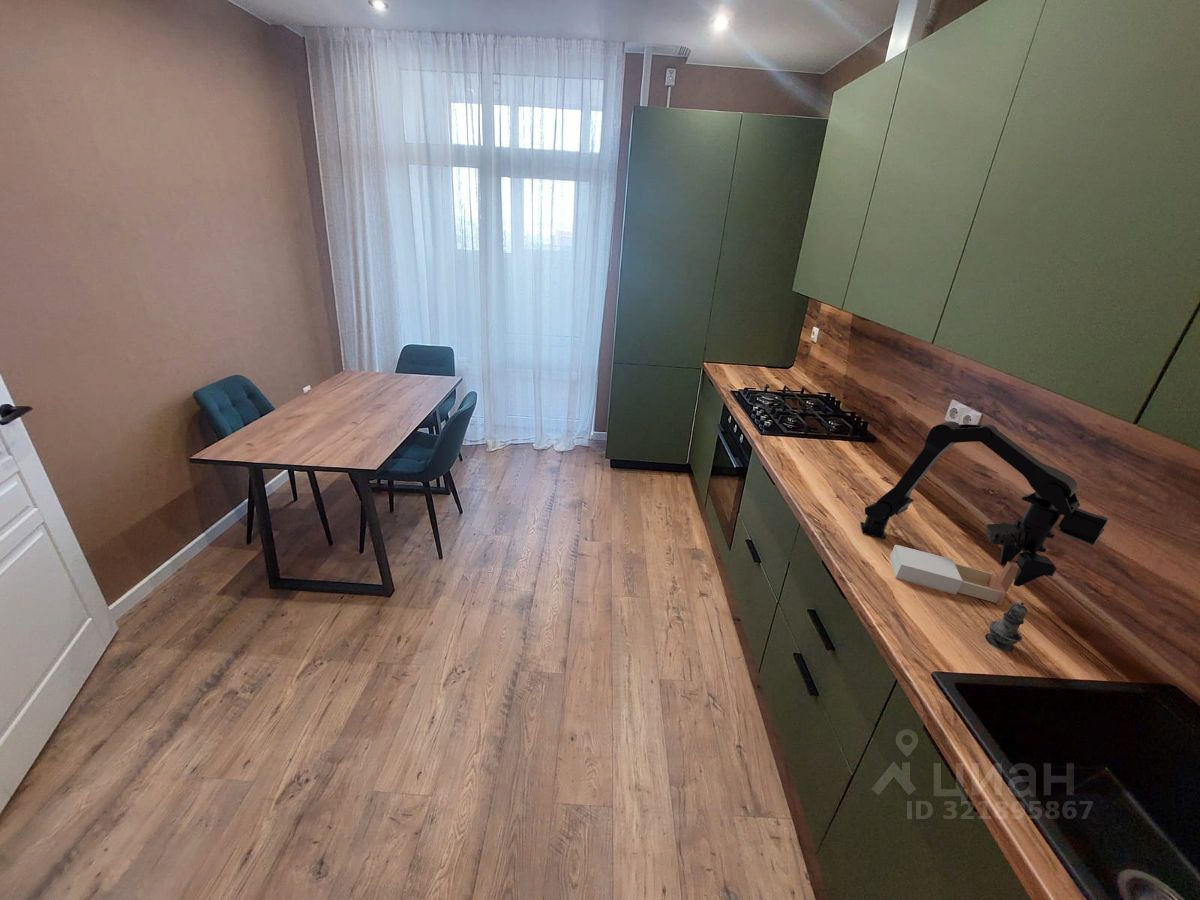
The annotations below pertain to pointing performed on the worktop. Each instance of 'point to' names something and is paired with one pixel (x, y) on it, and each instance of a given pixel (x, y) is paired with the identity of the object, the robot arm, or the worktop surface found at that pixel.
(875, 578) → the worktop surface
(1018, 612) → the grey figurine
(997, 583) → the mailer tray
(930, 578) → the sleeve
